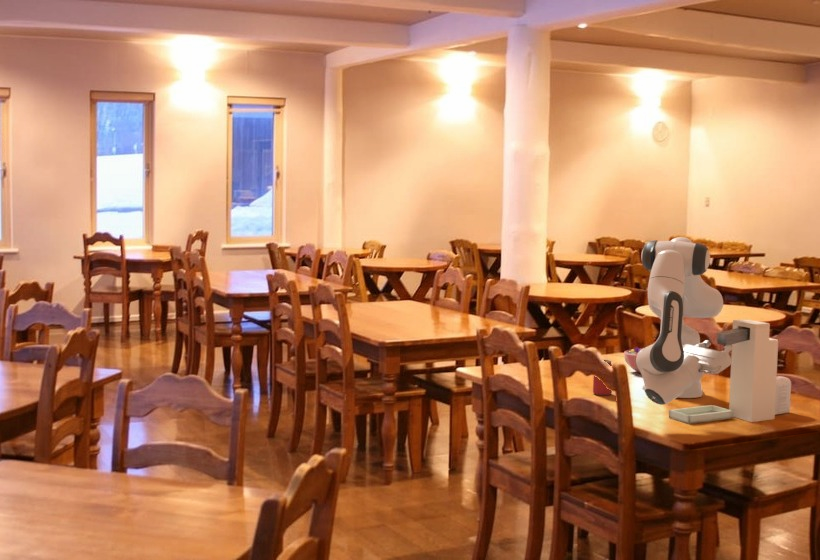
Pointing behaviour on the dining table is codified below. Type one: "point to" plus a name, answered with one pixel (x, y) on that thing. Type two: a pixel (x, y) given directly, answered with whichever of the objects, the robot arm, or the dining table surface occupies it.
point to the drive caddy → (733, 336)
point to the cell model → (632, 357)
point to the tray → (700, 414)
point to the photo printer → (782, 395)
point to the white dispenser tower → (754, 373)
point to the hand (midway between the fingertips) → (719, 344)
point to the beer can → (600, 385)
